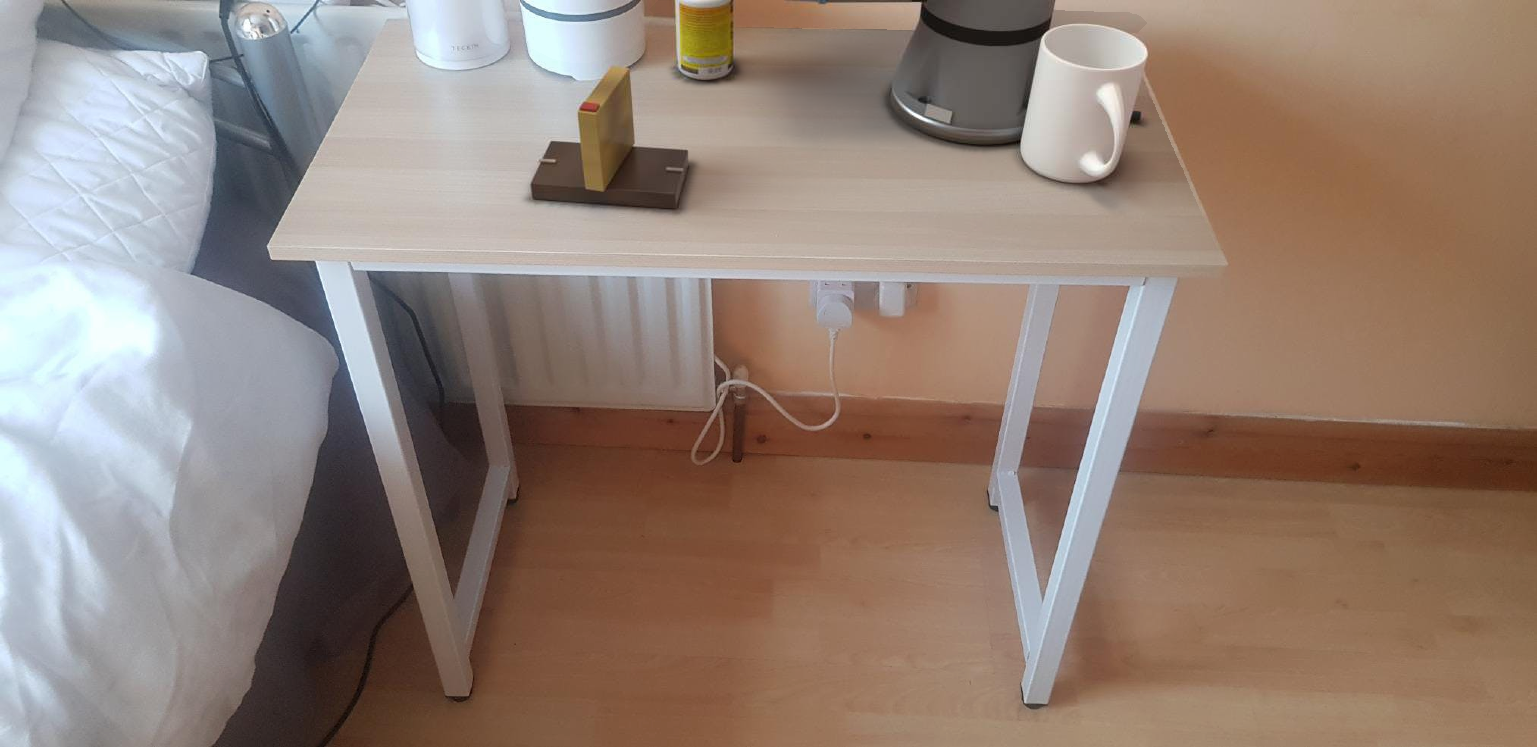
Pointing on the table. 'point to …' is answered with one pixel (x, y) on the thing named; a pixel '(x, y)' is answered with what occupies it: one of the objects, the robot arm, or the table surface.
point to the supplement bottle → (704, 37)
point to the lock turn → (606, 128)
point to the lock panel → (636, 182)
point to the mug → (1081, 101)
